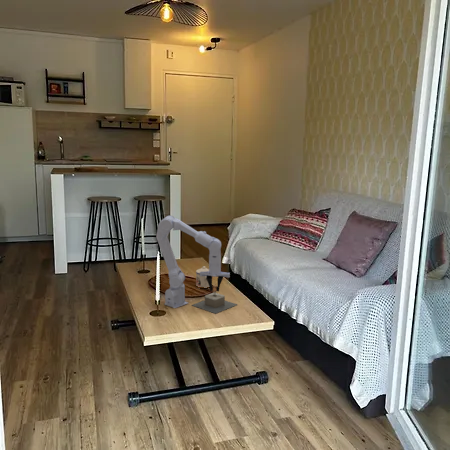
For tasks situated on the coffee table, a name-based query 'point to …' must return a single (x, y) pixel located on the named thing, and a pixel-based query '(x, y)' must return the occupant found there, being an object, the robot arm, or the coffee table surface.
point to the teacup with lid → (201, 278)
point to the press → (214, 303)
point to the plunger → (214, 290)
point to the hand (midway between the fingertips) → (214, 290)
